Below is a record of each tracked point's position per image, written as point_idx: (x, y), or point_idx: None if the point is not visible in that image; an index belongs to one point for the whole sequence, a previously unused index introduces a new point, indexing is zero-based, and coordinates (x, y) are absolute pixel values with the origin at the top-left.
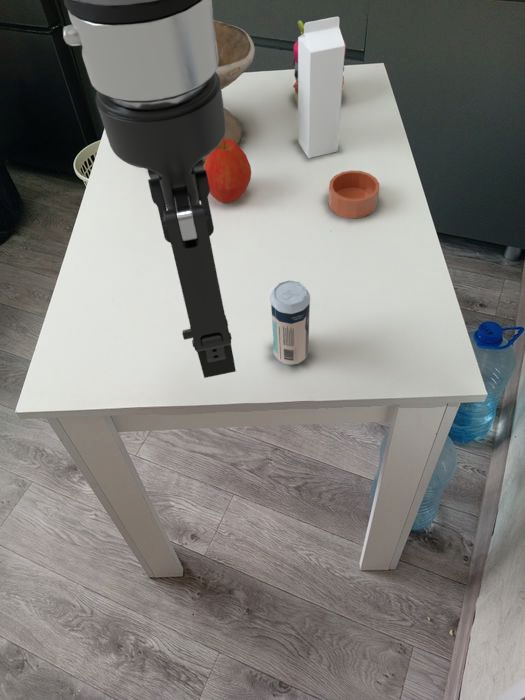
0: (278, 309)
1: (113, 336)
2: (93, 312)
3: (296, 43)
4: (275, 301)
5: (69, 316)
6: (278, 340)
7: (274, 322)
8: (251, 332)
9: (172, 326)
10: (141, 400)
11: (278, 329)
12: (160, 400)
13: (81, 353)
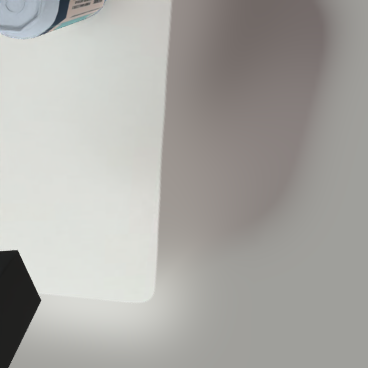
0: (49, 22)
1: (56, 235)
2: None
3: None
4: (30, 29)
5: None
6: (82, 15)
7: (59, 25)
8: (37, 52)
9: (35, 169)
10: (154, 204)
11: (72, 17)
12: (156, 184)
13: (83, 264)
